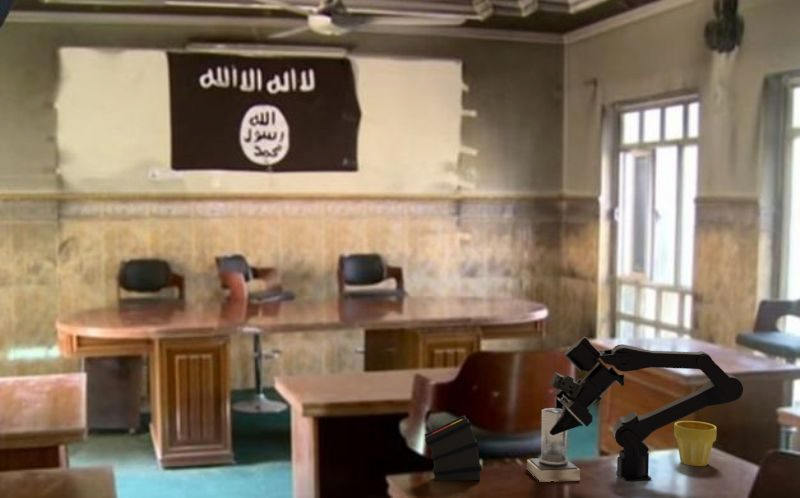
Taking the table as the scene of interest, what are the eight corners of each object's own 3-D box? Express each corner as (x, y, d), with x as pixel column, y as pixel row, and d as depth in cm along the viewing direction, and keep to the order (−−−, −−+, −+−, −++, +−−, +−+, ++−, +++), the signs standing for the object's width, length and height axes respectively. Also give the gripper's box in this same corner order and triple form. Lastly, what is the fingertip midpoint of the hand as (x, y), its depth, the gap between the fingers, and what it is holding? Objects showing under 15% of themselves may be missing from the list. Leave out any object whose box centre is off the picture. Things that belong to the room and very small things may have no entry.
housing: (562, 457, 224) (562, 407, 223) (571, 465, 217) (572, 413, 217) (535, 458, 223) (536, 408, 222) (544, 466, 216) (545, 414, 216)
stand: (565, 468, 226) (565, 456, 226) (579, 480, 216) (580, 468, 216) (526, 470, 224) (527, 458, 224) (539, 482, 214) (539, 469, 214)
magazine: (494, 474, 215) (467, 417, 214) (444, 498, 214) (417, 442, 213) (491, 469, 218) (465, 414, 217) (442, 493, 218) (416, 437, 217)
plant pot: (716, 459, 236) (717, 422, 235) (714, 470, 226) (715, 431, 226) (675, 455, 239) (675, 418, 239) (671, 465, 230) (672, 427, 229)
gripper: (563, 355, 228) (519, 399, 229) (579, 368, 210) (531, 416, 210) (593, 386, 229) (549, 430, 229) (612, 402, 210) (564, 449, 211)
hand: (548, 430), depth 220 cm, fingers open, 6 cm apart
